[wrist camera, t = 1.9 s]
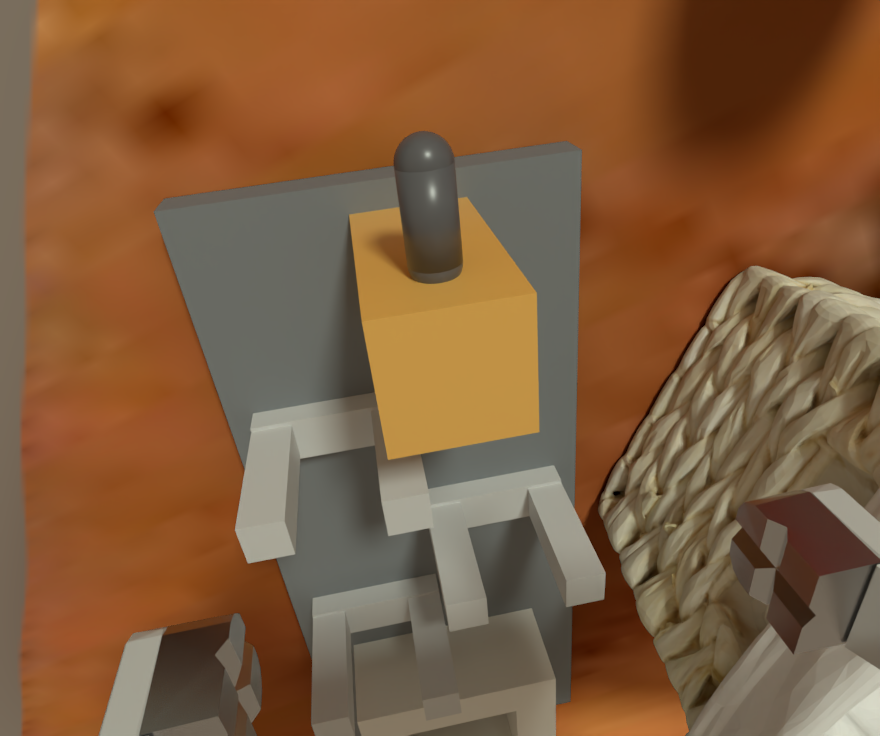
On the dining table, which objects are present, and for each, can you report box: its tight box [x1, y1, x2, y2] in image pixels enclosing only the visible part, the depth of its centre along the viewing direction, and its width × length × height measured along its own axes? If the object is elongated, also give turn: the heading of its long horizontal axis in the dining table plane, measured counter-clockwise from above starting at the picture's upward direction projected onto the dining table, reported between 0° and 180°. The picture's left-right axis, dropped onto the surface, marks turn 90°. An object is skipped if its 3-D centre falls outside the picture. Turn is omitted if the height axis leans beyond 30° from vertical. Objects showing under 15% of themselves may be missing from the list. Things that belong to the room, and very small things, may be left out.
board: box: [154, 141, 606, 736], centre depth 27 cm, size 14×33×8 cm, turn 6°
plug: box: [349, 131, 539, 460], centre depth 17 cm, size 4×7×8 cm, turn 6°
